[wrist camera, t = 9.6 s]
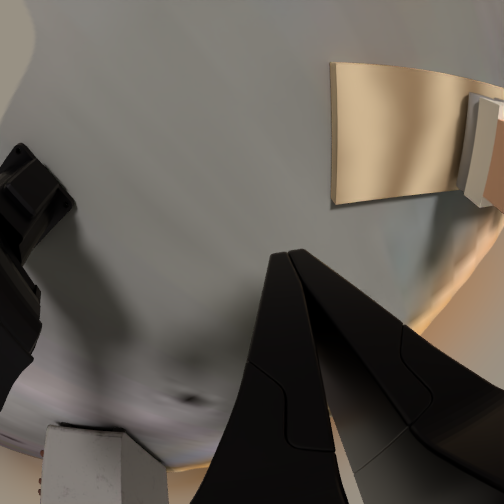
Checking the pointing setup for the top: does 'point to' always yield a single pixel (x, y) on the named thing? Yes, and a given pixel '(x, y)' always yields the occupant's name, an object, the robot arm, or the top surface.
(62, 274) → the top surface
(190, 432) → the top surface
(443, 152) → the tan cardboard slab
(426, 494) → the robot arm
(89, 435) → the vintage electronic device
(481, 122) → the brown piece
